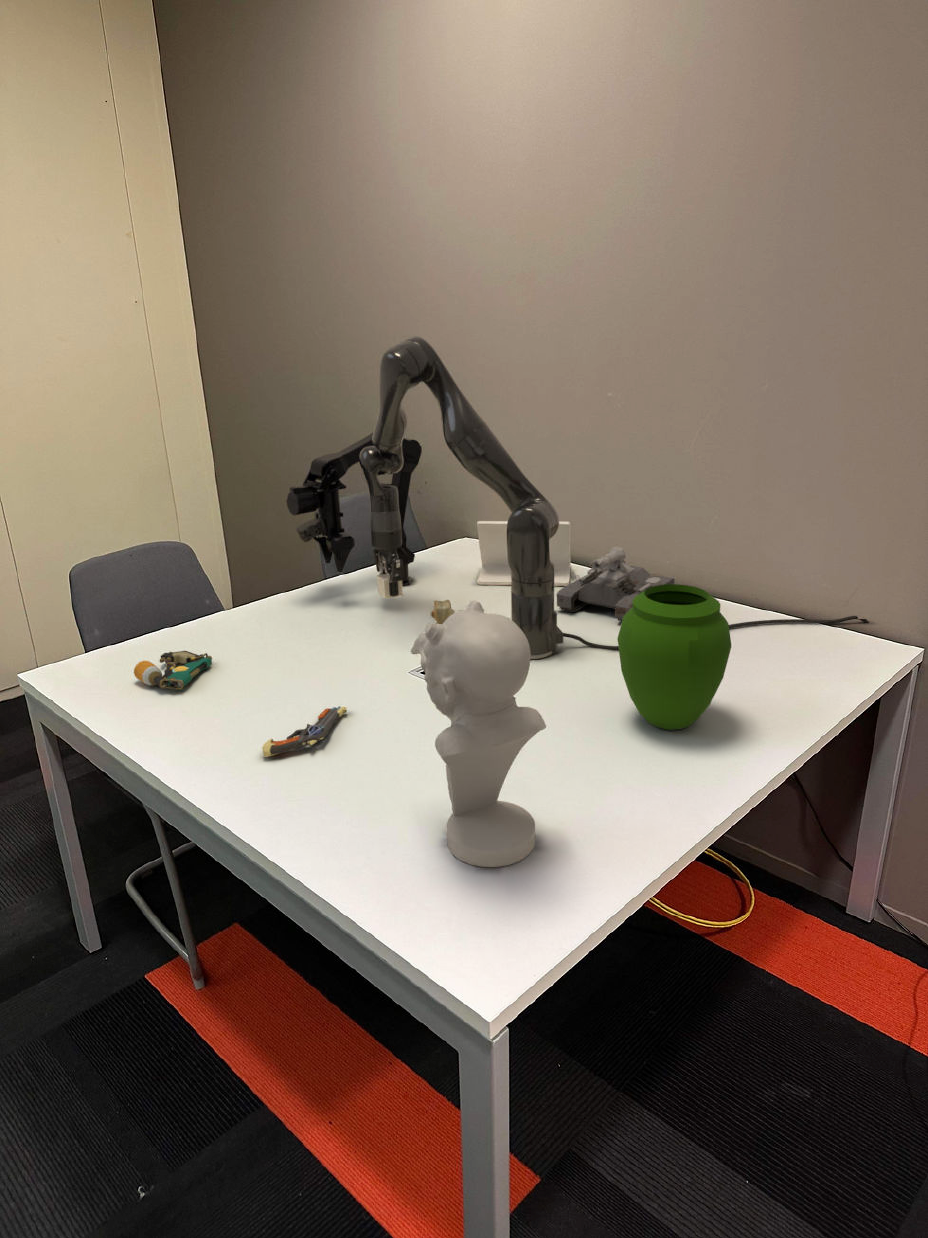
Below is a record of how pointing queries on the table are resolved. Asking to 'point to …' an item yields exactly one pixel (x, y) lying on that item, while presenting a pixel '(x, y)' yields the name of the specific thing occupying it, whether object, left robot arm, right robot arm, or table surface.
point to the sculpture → (441, 611)
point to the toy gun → (305, 733)
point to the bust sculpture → (481, 729)
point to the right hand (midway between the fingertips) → (390, 592)
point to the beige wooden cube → (386, 586)
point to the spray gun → (172, 669)
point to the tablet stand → (497, 559)
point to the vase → (673, 653)
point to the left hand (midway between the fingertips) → (333, 567)
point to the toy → (609, 585)
